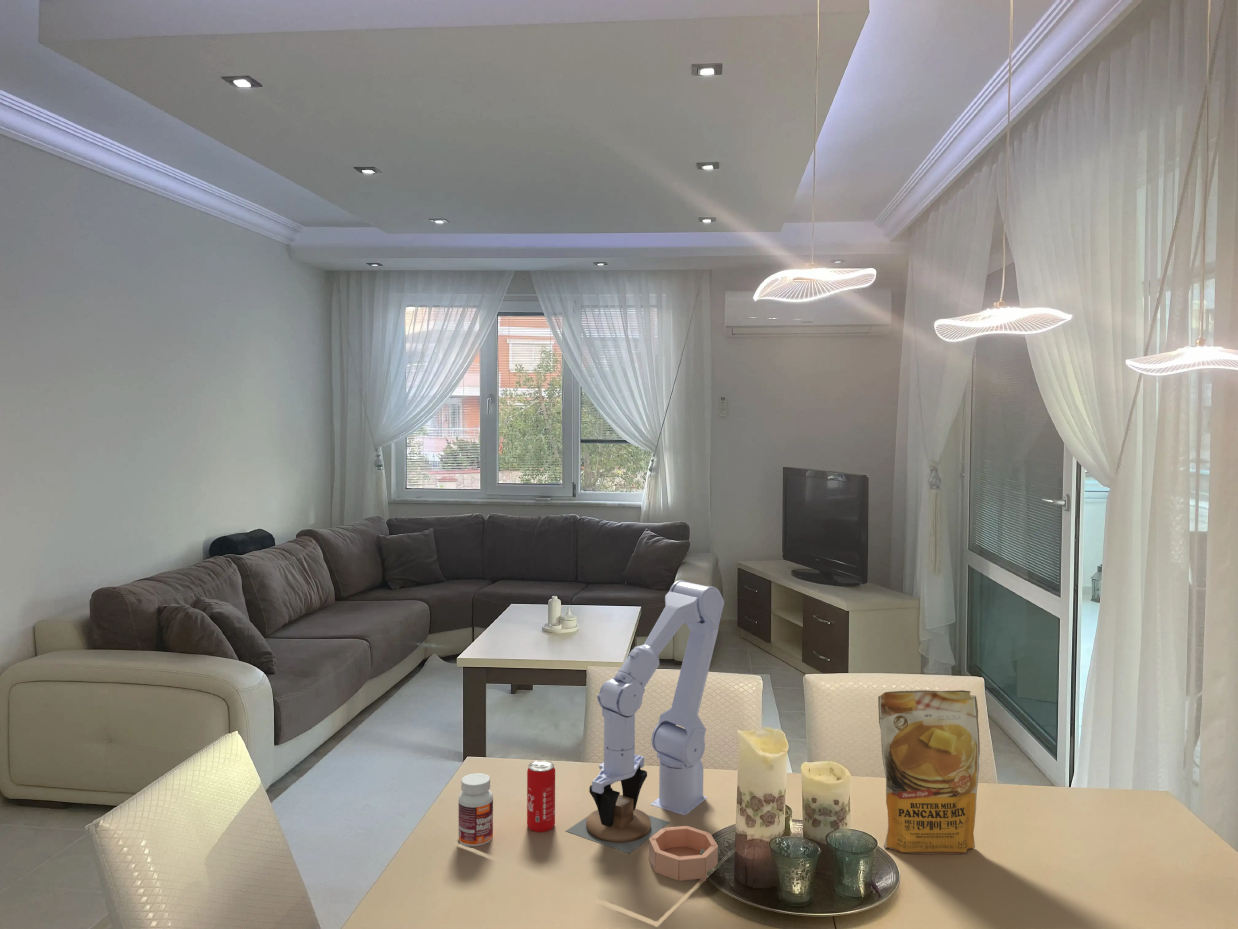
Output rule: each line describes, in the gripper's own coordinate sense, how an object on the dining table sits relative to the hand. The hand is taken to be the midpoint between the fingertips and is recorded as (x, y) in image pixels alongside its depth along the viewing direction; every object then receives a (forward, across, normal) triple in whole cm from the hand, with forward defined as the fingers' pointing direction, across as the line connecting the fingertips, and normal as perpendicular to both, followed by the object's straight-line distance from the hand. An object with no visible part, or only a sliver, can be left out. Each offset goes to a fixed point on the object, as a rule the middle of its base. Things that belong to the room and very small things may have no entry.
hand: (618, 817), depth 154 cm
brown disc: (+2, 0, 0) cm, 2 cm away
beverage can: (+3, +8, -12) cm, 15 cm away
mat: (+2, 0, 0) cm, 2 cm away
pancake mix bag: (+3, -27, +49) cm, 56 cm away
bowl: (+2, +4, +16) cm, 17 cm away
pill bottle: (+3, +18, -19) cm, 26 cm away
